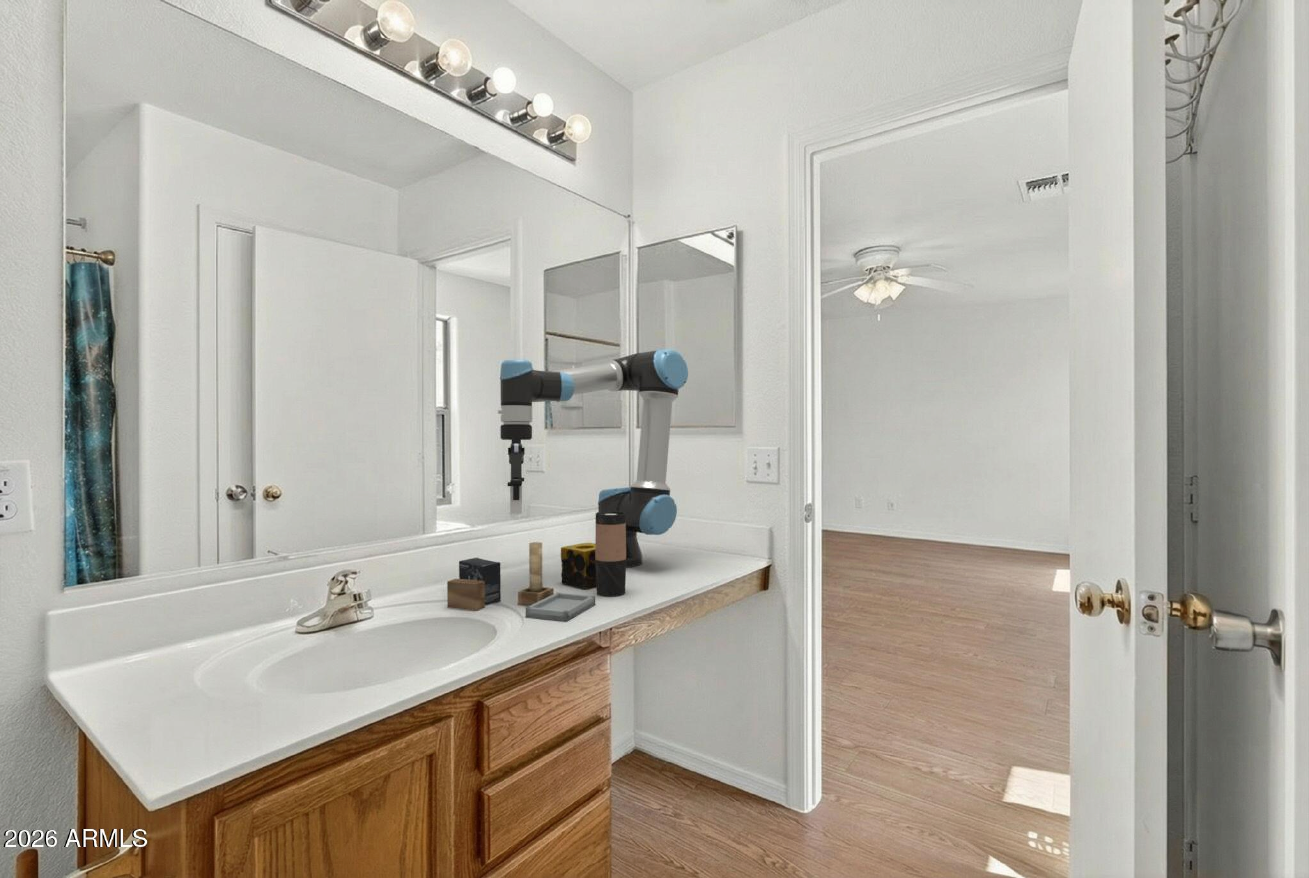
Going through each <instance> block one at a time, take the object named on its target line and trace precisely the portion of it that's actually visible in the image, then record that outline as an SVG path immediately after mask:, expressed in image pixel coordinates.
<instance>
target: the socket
mask: <svg viewBox="0 0 1309 878" xmlns="http://www.w3.org/2000/svg"><path fill="white" fill-rule="evenodd" d="M554 590H555V589H554V587H547V586H542V592H540V593H536V592H530V589H529V586H528V587H526V588H524V589H522V590H519V591H518V592H517V605H518V606H519V605H520V606H526V607H528V606H530V605H533V604H535V603H537V602H539V601H541V600H543V599H545V598H547V597H549V596H551V595H553V594H555V593H554V592H555V591H554Z"/></svg>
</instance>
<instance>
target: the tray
mask: <svg viewBox="0 0 1309 878" xmlns="http://www.w3.org/2000/svg"><path fill="white" fill-rule="evenodd" d="M594 606H596V596H595V595H587V594H576V593H567V592H555V593H554V594H553V595H551V596H549V597H547V598H545V599H543V600H541V601H539V602H537V603H535V604H533V605H530V606H526V607H525V618H528V619H529V618H532V619H540V620H549V621H557V622H565V623H566V622H569V621H570V620H571V619H574V618H575V617H577V616H579V615H580V614H583V612H586V611H588V610H589V609H591V608H592V607H594Z"/></svg>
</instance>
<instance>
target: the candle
mask: <svg viewBox="0 0 1309 878" xmlns="http://www.w3.org/2000/svg"><path fill="white" fill-rule="evenodd" d="M595 560H596V559H595V543H594V542H584V543H578V544H571V545H565V546H562V547H560V561H561V573H560V577H561V584H562V585H565V586H568V587H569V586H570V587H572V588H579V589H580V590H592V589H595V588H596V562H595Z"/></svg>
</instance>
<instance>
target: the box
mask: <svg viewBox="0 0 1309 878" xmlns="http://www.w3.org/2000/svg"><path fill="white" fill-rule="evenodd" d="M458 579H466V580H476V581H485V606H488V605H491V604H494V603H495V604H496V603H499V602H501V599H502V597H501V595H502V594H501V592H502V590H501V589H502V588H501V583H502V582H501V562H499V561H492V560H487V559H482V558H480V557H473V558H468V559H467V558H466V559H464V560H463V559H462V560H459V561H458Z"/></svg>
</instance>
